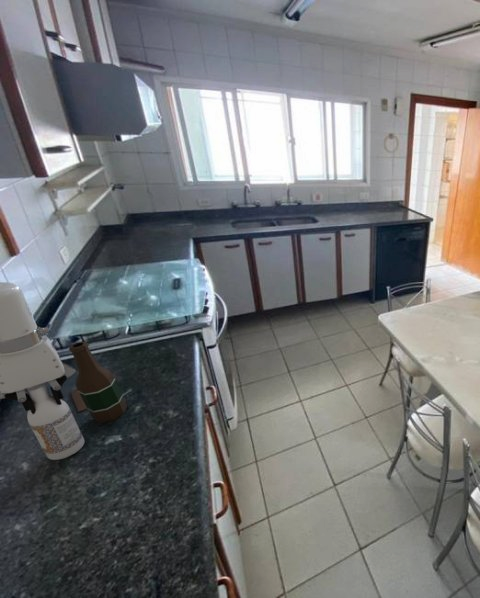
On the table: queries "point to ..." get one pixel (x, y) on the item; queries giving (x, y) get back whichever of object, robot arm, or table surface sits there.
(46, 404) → the bath foam
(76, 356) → the beer bottle
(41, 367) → the robot arm
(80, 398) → the brown flat square slab
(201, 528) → the table surface
